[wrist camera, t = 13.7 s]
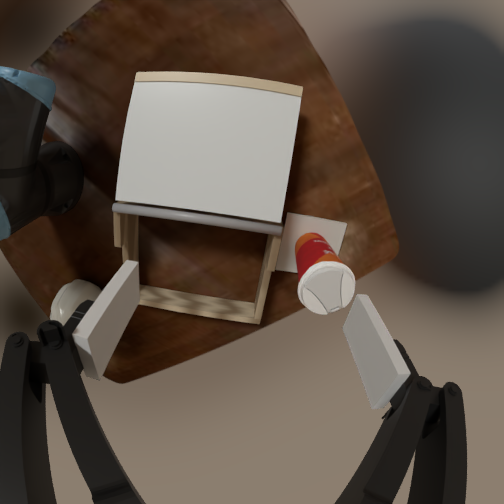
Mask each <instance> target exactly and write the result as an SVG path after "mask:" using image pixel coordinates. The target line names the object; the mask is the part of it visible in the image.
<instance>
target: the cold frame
mask: <svg viewBox="0 0 504 504" xmlns="http://www.w3.org/2000/svg"><path fill="white" fill-rule="evenodd" d="M117 203H119V204H128V205H136V206H145V207H153V208H160V209H168V210H176V211H183V212H191V213H198V214H205V215H212V216H219V217H226V218H232V219H239V220H246V221H252V222H259V223H265V224H271V225H277V226H282V232H281V236H278V235H272V234H268V238H267V243H266V248H265V253H264V258H263V264H262V269H261V274H260V279H259V284H258V289H257V294H256V299H255V303H250V302H242V301H235V300H229V299H222V298H216V297H209V296H203V295H197V294H191V293H185V292H179V291H173V290H168V289H162V288H157V287H151V286H146V285H141V284H140V279H139V291H140V302H139V303H138V304H141V305H146V306H151V307H156V308H161V309H166V310H171V311H177V312H182V313H188V314H194V315H200V316H206V317H212V318H219V319H225V320H232V321H239V322H246V323H254V324H260V320H261V316H262V312H263V307H264V303H265V298H266V294H267V289H268V285H269V280H270V276H271V271H275V266H276V262H277V257H278V253H279V248H280V244H281V239H282V234H283V230H284V227H283V224H282V220H281V223H279V222H272V221H266V220H260V219H254V218H247V217H241V216H234V215H227V214H220V213H213V212H206V211H199V210H192V209H185V208H177V207H169V206H161V205H153V204H145V203H137V202H128V201H118V202H117ZM113 214H114V245H115V247H122V254H123V264H124V263H125V261H126V260H130V261H136V262H138V263H139V249H138V216H139V215H133V214H125V213H117V212H113Z"/></svg>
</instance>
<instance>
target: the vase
mask: <svg viewBox="0 0 504 504" xmlns="http://www.w3.org/2000/svg"><path fill="white" fill-rule="evenodd" d="M101 292H102V290H101V289H100V288H99V287H98V286H96V285H94V284H92V283H90V282H89V281H84V280H79V279H75V280H74V281H73V282H72V283H69V284H66V285H64V286H63V287H62V288H61V289H60V291H59V292H58V293H57V295H56V297H55V299H54V301H53V303H52V307H51V314H50V320H56V321H59V322H60V323H62V325H63V326H64V325H65V323H66V322H67V320H68V319H69V318H70V317H71V315H72V314H73V312H75V310H76V308H77V307H78V306H79V304H81V303H82V302H84V301H85V300H87V299H88V300H92V301H96V299H97V298H98V296H99V295H100V294H101Z"/></svg>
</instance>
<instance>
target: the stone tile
mask: <svg viewBox="0 0 504 504" xmlns="http://www.w3.org/2000/svg"><path fill="white" fill-rule="evenodd" d="M346 226H347V223H344V222H339V221H333V220H328V219H323V218H318V217H312V216H307V215H301V214H295V213H290V212H287V216H286V220H285V225H284V230H283V235H282V239H281V244H280V249H279V253H278V258H277V262H276V267H275V270H281V271H288V272H295V273H298V272H297V265H296V258H295V244H296V242H297V240H298V239H299V238H300V237H301V236H302V235H304V234H306V233H311V232H313V233H318V234H320V235H321V236H322V237H324V239H325V240H326V241H327V242H328V243H329V245H330V246H331V247H332V249H333V250H334V251H335V253H336V254H337V256H338V254H339V250H340V247H341V244H342V240H343V237H344V233H345V230H346Z"/></svg>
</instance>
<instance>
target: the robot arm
mask: <svg viewBox="0 0 504 504" xmlns="http://www.w3.org/2000/svg"><path fill="white" fill-rule="evenodd" d="M55 91H56V86H55V83H54V82H53V81H52V80H51V79H48V78H46V77H43V76H39V75H36V74H33V73H29V72H25V71H20V70H16V69H12V68H8V67H2V66H0V240H2V239H6V238H8V237H9V236H10V235H11V234H13V233H14V232H16V231H18V230H19V229H21V228H22V227H24V226H25V225H27V224H29V223H30V222H32V221H33V220H35V219H37V218H38V217H40V216H57V215H61V214H63V213H65V212H67V211H69V210H70V209H72V208H73V207H74V206H75V205H76V203H77V202H78V200H79V198H80V196H81V193H82V189H83V169H82V165H81V162H80V159H79V157H78V155H77V153H76V152H75V151H74V149H73V148H72V147H71V146H69V145H68V144H66V143H64V142H61V141H54V142H49V143H46V144H43V145H42V146H41V142H42V138H43V134H44V130H45V126H46V122H47V119H48V115H49V112H50V111H51V110H52V107H51V105H52V101H53V98H54V95H55ZM139 302H140V291H139V263H138V262H136V261H130V260H126V261H125V263H124V264H123V265H122V266H121V268H120V269H119V270H118V271H117V273H116V274H115V275H114V277H113V278H112V279H111V280H110V282H109V283H108V284H107V286H106V287H105V288H104V290H103V291H102V292H101V294H100V295H99V296H98V298H97V299H96V301H92V300H88V299H87V300H85V301H84V302H82V303H81V304H79V306H78V307H77V308H76V310H75V312H73V314H72V315H71V317H70V318H69V319H68V320H67V322H66V323H65V325H64V326H63V325H62V323H60V322H59V321H56V320H48V321H45V322H43V323H42V324H40V325H39V327H38V329H37V335H38V338H39V340H40V342H38V341H30V340H29V338H28V336H27V334H25V333H23V332H16V333H13V334H11V335H10V336H9V337H8V339H7V341H6V345H5V349H4V353H3V358H2V363H1V369H0V504H57V503H56V499H55V494H54V488H53V483H52V477H51V471H50V463H49V455H48V446H47V434H46V411H45V410H46V408H45V394H46V392H45V391H46V383H47V384H50V386H51V390H52V394H53V397H54V401H55V404H56V408H57V411H58V414H59V417H60V420H61V423H62V426H63V429H64V432H65V434H66V437H67V440H68V443H69V445H70V448H71V450H72V453H73V455H74V457H75V459H76V462H77V464H78V466H79V469H80V471H81V473H82V475H83V477H84V479H85V481H86V483H87V485H88V487H89V489H90V491H91V494H92V500H93V502H94V504H146V503H145V502H144V500H143V499H142V498H141V496H140V495H139V493H138V492H137V490H136V489H135V487H134V486H133V484H132V482H131V481H130V479H129V478H128V476H127V474H126V473H125V471H124V469H123V467H122V466H121V464H120V462H119V460H118V459H117V457H116V455H115V453H114V451H113V450H112V447H111V446H110V444H109V442H108V440H107V438H106V436H105V434H104V431H103V429H102V427H101V425H100V423H99V421H98V418H97V416H96V415H95V412H94V409H93V407H92V404H91V402H90V400H89V397H88V395H87V392H86V389H85V387H84V384H83V381H82V378H81V376H80V374H81V372H82V370H83V369H84V372H85V375H86V376H87V377H90V378H93V379H96V380H100V379H101V377H102V375H103V373H104V371H105V369H106V366H107V364H108V362H109V360H110V358H111V356H112V354H113V352H114V350H115V348H116V346H117V344H118V342H119V340H120V338H121V336H122V334H123V332H124V330H125V328H126V326H127V324H128V322H129V320H130V318H131V316H132V315H133V313H134V311H135V309H136V307H137V305H138V303H139ZM342 329H343V331H344V334H345V336H346V339H347V342H348V344H349V347H350V350H351V352H352V355H353V357H354V360H355V363H356V366H357V368H358V371H359V374H360V377H361V379H362V382H363V385H364V388H365V391H366V394H367V396H368V399H369V402H370V405H371V408H372V409H379V408H384V407H385V406H386V405H387V404H388V402H389V401H390V403H391V405H392V407H391V408H390V409H389V410H388V411H387V412H386V413H385V415H384V416H383V417H382V419H384V418H385V419H384V421H383V423H382V425H381V427H380V429H379V431H378V433H377V435H376V437H375V439H374V441H373V443H372V444H371V446H370V448H369V450H368V452H367V454H366V455H365V457H364V459H363V461H362V462H361V464H360V466H359V467H358V469H357V471H356V472H355V474H354V476H353V477H352V479H351V480H350V482H349V483H348V485H347V486H346V488H345V489H344V491H343V492H342V494H341V495H340V497H339V498H338V499H337V501H336V502H335V504H392V502H393V500H394V498H395V496H396V494H397V492H398V490H399V488H400V486H401V484H402V481H403V479H404V477H405V475H406V472H407V470H408V467H409V465H410V462H411V460H412V457H413V455H414V452H415V461H414V468H413V475H412V481H411V487H410V493H409V498H408V503H407V504H465V498H466V482H467V441H466V425H465V414H464V404H463V397H462V392H461V389H460V388H459V386H458V385H457V384H455V383H453V382H447V383H446V384H445V385H444V386H443V388H439V387H434V386H433V385H432V383H431V382H430V381H429V380H428V379H427V378H425V377H422V376H419V375H418V373H417V371H416V369H415V367H414V365H413V363H412V362H411V360H410V359H409V356H408V355H407V354H406V351H405V349H404V347H403V345H401V344H400V343H399V341H398V340H393V339H392V337H391V335H390V333H389V332H388V330H387V328H386V326H385V325H384V323H383V321H382V319H381V317H380V316H379V314H378V313H377V311H376V309H375V307H374V305H373V304H372V302H371V300H370V299H369V297H368V295H361V294H357V295H356V298H355V300H354V302H353V305H352V307H351V309H350V312H349V314H348V316H347V319H346V321H345V323H344V325H343V328H342ZM415 449H416V451H415Z"/></svg>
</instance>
